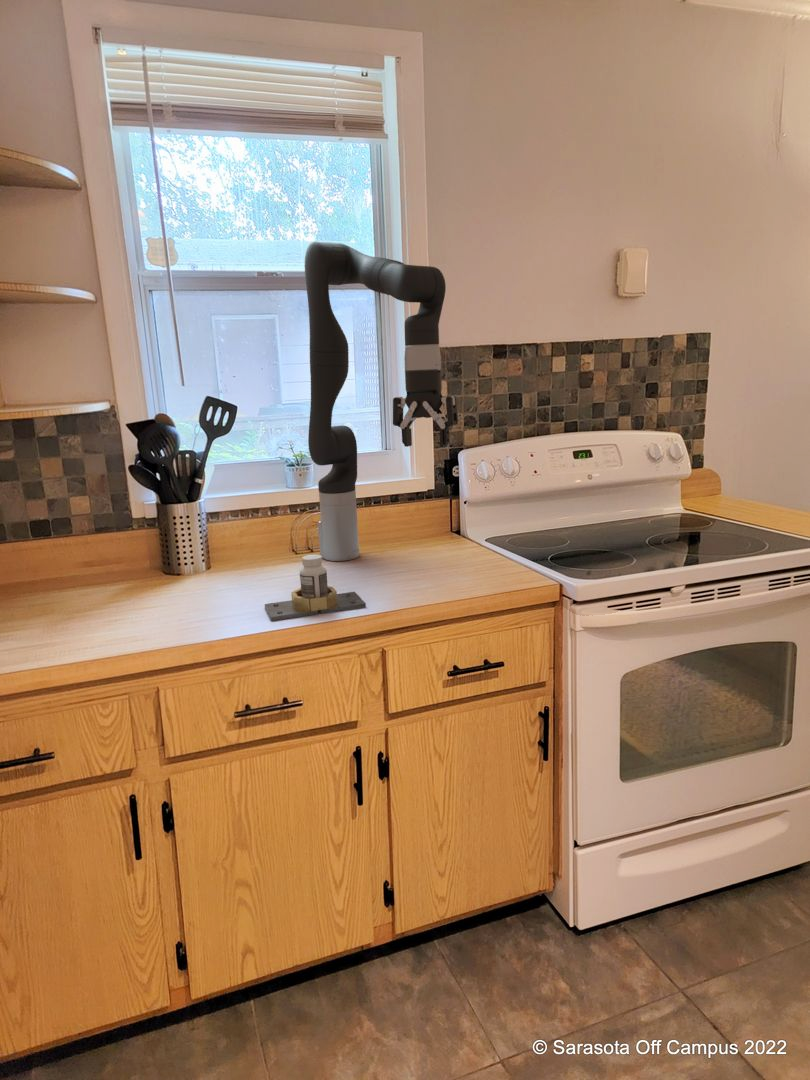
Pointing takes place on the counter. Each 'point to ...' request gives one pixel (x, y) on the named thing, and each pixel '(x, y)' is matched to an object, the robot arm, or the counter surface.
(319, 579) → the pill bottle
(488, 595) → the counter surface
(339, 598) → the octagonal bottle holder
